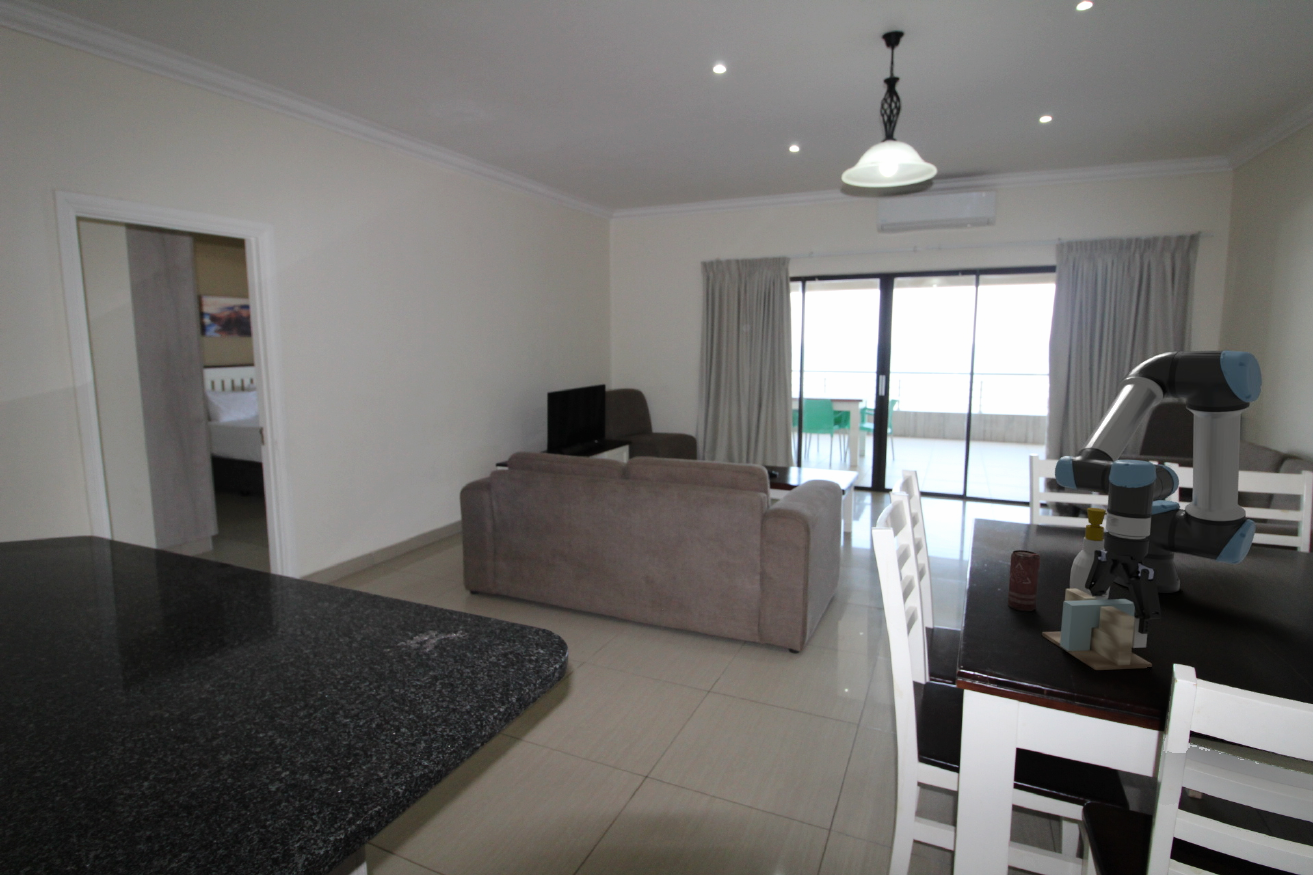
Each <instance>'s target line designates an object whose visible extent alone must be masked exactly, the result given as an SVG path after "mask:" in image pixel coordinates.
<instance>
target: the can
mask: <svg viewBox="0 0 1313 875" xmlns="http://www.w3.org/2000/svg"><path fill="white" fill-rule="evenodd" d="M1040 567H1041V555H1040V554H1038V553H1036V552H1033V551H1029V550H1022V549H1021V550H1020V549H1019V550H1018V549H1016V550H1013V551H1012V553H1011V555H1010V565H1009V569H1010V570H1009V577H1008V578H1009V579H1008V580H1009V583H1008V593H1007V594H1008V595H1007V604H1008V606H1009V607H1010V608H1011V609H1012V610H1013V609H1014V610H1016V611H1020V612H1032V611H1034V610H1035V609H1036V607H1037V595H1038V580H1039V569H1040Z"/></svg>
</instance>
